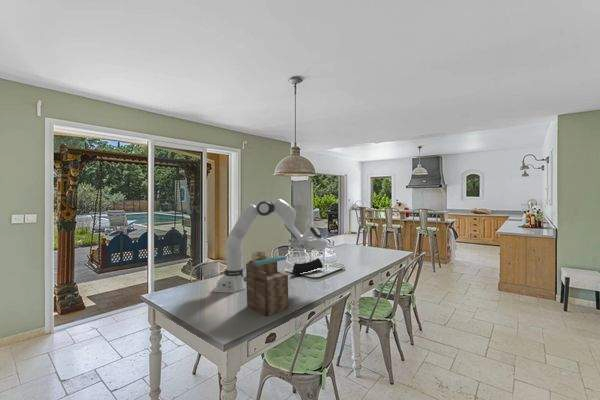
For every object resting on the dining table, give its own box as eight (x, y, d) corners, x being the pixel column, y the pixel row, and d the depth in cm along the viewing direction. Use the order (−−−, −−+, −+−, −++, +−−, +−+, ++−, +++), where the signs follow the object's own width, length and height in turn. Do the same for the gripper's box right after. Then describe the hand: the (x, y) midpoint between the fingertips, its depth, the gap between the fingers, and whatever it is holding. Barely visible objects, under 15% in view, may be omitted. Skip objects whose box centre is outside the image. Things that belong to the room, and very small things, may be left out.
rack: (268, 299, 184) (267, 249, 183) (288, 308, 169) (287, 254, 168) (247, 306, 173) (245, 253, 172) (266, 316, 158) (265, 258, 158)
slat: (282, 258, 185) (282, 255, 185) (286, 259, 182) (286, 256, 182) (253, 264, 170) (253, 261, 170) (257, 265, 167) (257, 262, 167)
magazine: (291, 266, 233) (318, 251, 248) (289, 265, 235) (316, 250, 251) (296, 285, 236) (323, 268, 251) (294, 284, 238) (321, 268, 254)
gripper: (299, 237, 207) (284, 235, 198) (319, 239, 192) (304, 237, 183) (298, 246, 206) (283, 244, 197) (318, 248, 191) (302, 247, 182)
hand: (293, 241), depth 190 cm, fingers open, 8 cm apart
